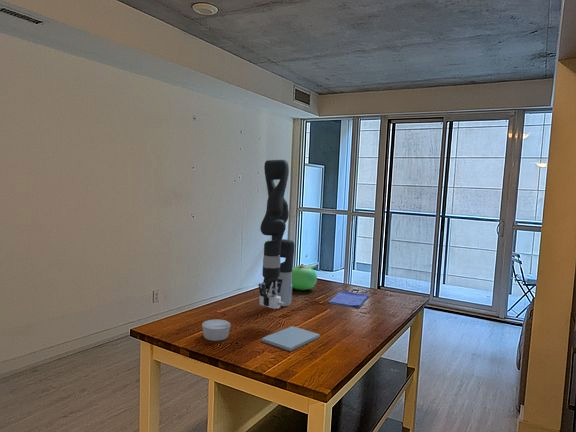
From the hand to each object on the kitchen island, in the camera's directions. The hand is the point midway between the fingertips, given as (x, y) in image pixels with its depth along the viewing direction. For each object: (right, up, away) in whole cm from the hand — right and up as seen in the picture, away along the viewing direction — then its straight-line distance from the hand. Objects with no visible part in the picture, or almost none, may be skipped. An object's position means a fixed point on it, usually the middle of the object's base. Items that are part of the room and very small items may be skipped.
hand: (269, 304), depth 184 cm
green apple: (+16, -5, +67) cm, 69 cm away
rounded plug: (+1, -1, -1) cm, 1 cm away
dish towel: (+41, -9, +48) cm, 64 cm away
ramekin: (-21, -10, -16) cm, 28 cm away
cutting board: (+9, -11, -14) cm, 20 cm away
